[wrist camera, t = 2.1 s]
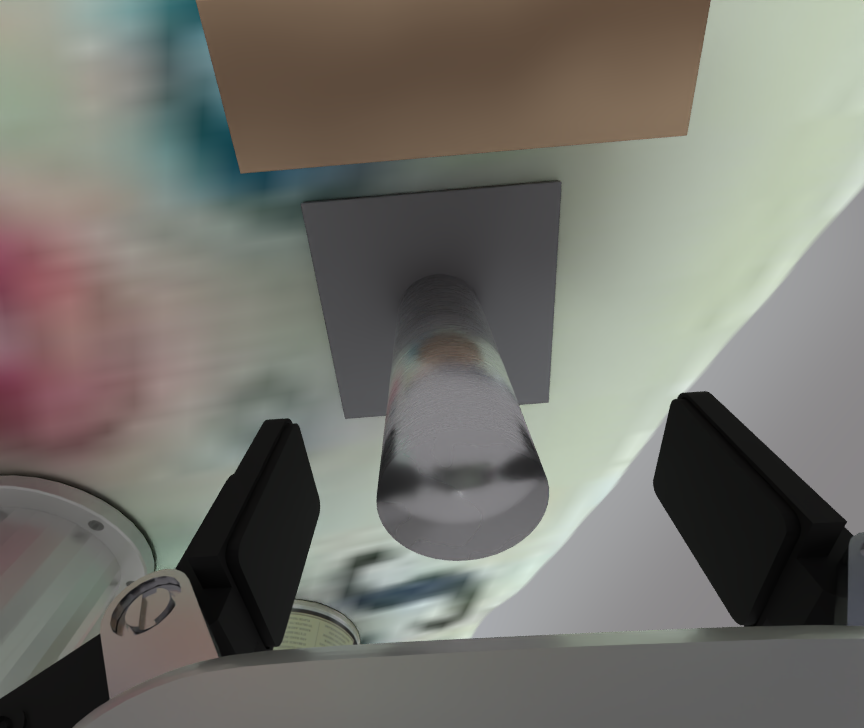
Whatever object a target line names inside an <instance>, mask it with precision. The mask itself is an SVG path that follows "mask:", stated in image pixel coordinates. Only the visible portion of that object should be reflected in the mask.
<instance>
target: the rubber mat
mask: <svg viewBox="0 0 864 728" xmlns="http://www.w3.org/2000/svg"><path fill="white" fill-rule="evenodd" d="M561 184H562V182H561V181H558V180H557V181H545V182H533V183H522V184H510V185H498V186H486V187H474V188H463V189H451V190H439V191H427V192H416V193H404V194H392V195H380V196H368V197H357V198H345V199H333V200H321V201H309V202H303V203H301V208H302V213H303V217H304V222H305V227H306V232H307V237H308V242H309V247H310V251H311V256H312V261H313V266H314V271H315V276H316V281H317V285H318V290H319V295H320V300H321V305H322V310H323V314H324V319H325V324H326V329H327V334H328V339H329V344H330V348H331V353H332V358H333V363H334V368H335V373H336V377H337V382H338V387H339V392H340V397H341V402H342V407H343V411H344V416H345V419H348V418H361V417H373V416H386V411H387V403H388V394H389V385H390V376H391V368H392V359H393V350H394V342H395V333H396V324H397V315H398V308H399V303H400V301H401V298H402V296H403V294H404V293H405V292H406V290H407V289H408V288H409V287H410V286H411V285H412V284H413V283H415V282H416V281H418V280H419V279H421V278H424V277H426V276H430V275H436V274H445V275H451V276H454V277H457V278H459V279H461V280H463V281H464V282H466V283H467V284H468V285H469V286H470V287H471V288H472V289H473V290H474V291H475V293H476V295H477V296H478V299H479V301H480V304H481V307H482V309H483V312H484V315H485V317H486V320H487V322H488V325H489V328H490V330H491V333H492V336H493V338H494V341H495V343H496V346H497V349H498V351H499V354H500V357H501V359H502V362H503V365H504V367H505V370H506V372H507V375H508V378H509V380H510V383H511V386H512V388H513V391H514V393H515V396H516V399H517V401H518V404H519V405H523V404H536V403H548V402H549V386H550V369H551V352H552V336H553V319H554V302H555V285H556V268H557V251H558V235H559V218H560V201H561Z"/></svg>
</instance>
